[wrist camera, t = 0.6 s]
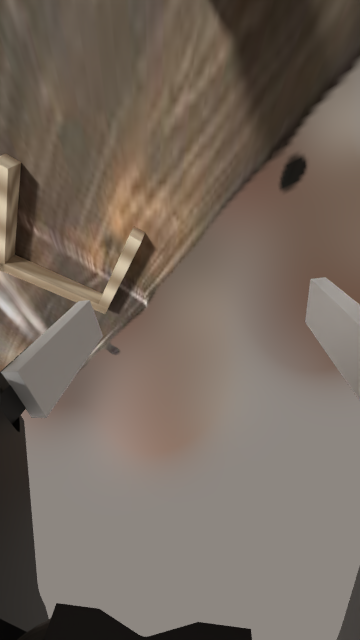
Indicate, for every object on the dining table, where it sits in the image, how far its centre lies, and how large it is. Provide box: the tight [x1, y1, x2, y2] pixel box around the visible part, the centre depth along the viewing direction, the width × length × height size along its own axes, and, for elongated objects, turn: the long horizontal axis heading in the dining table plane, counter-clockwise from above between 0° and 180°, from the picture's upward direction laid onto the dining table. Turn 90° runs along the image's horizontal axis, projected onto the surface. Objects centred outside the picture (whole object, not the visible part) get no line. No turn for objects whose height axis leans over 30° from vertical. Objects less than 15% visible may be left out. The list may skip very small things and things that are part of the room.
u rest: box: [0, 154, 145, 314], centre depth 41 cm, size 19×21×3 cm
